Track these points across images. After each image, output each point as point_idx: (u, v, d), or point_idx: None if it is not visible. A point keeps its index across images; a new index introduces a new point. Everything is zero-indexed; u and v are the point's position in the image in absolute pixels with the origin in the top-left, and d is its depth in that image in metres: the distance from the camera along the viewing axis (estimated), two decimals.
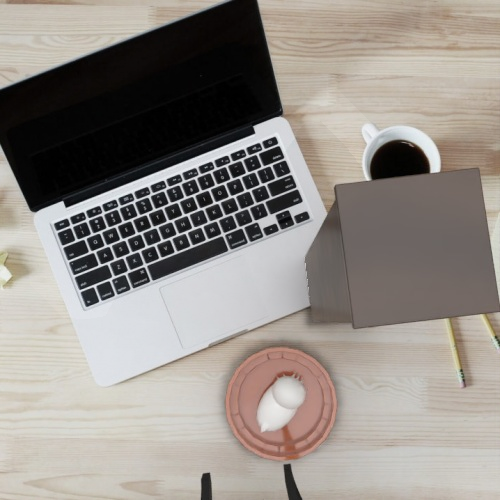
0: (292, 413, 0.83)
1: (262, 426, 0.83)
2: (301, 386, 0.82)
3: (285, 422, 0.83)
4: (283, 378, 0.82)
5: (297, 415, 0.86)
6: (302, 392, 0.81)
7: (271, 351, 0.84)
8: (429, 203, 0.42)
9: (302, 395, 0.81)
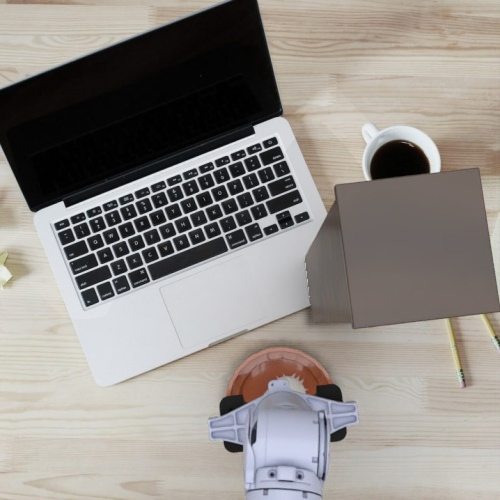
0: None
1: None
2: (301, 386, 0.82)
3: None
4: (283, 378, 0.82)
5: None
6: (302, 392, 0.81)
7: (271, 351, 0.84)
8: (429, 203, 0.42)
9: None
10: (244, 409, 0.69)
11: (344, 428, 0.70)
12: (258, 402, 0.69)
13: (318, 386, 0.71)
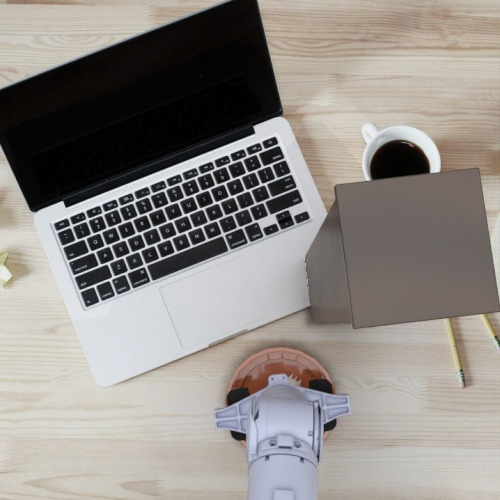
0: None
1: None
2: None
3: None
4: None
5: None
6: None
7: (271, 351, 0.84)
8: (429, 203, 0.42)
9: None
10: (246, 401, 0.76)
11: (334, 419, 0.77)
12: (259, 395, 0.76)
13: (310, 381, 0.78)
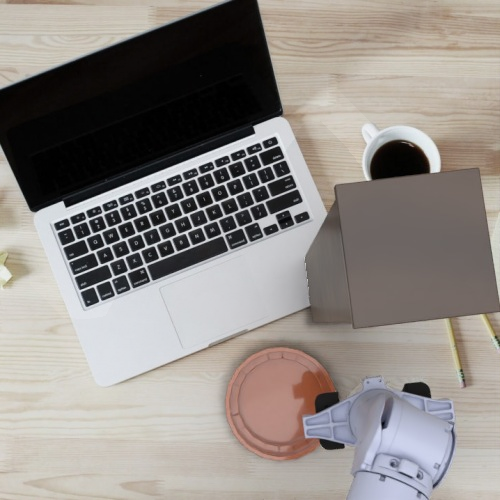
0: None
1: None
2: None
3: None
4: None
5: (297, 415, 0.86)
6: None
7: (271, 351, 0.84)
8: (429, 203, 0.42)
9: None
10: (339, 407, 0.69)
11: None
12: (353, 399, 0.69)
13: (406, 384, 0.71)
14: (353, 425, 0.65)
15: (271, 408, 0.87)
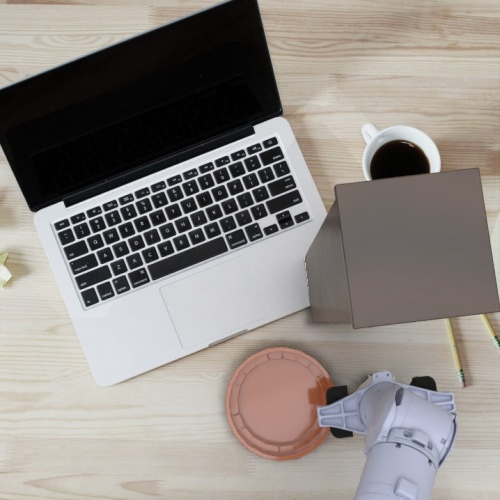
0: None
1: None
2: None
3: None
4: None
5: (297, 415, 0.86)
6: None
7: (271, 351, 0.84)
8: (429, 203, 0.42)
9: None
10: (350, 398, 0.76)
11: None
12: (363, 392, 0.76)
13: (414, 378, 0.78)
14: (363, 415, 0.72)
15: (271, 408, 0.87)
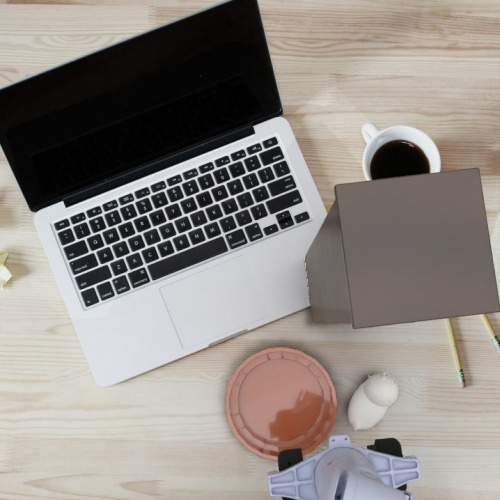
0: (384, 411, 0.84)
1: (355, 424, 0.83)
2: (395, 383, 0.82)
3: (378, 420, 0.84)
4: (376, 376, 0.82)
5: (297, 415, 0.86)
6: (396, 389, 0.82)
7: (271, 351, 0.84)
8: (429, 203, 0.42)
9: (396, 393, 0.82)
10: (304, 464, 0.69)
11: None
12: (319, 458, 0.68)
13: (377, 440, 0.71)
14: (316, 487, 0.65)
15: (271, 408, 0.87)
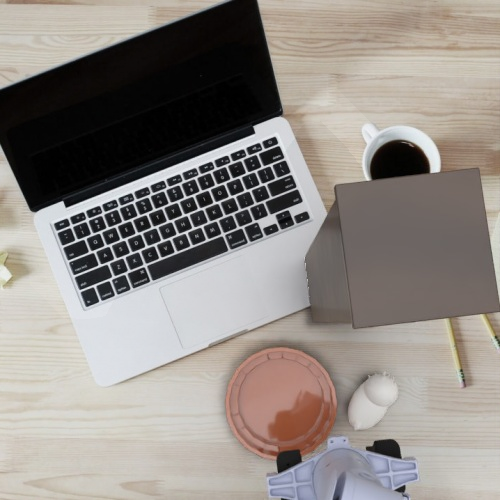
0: (384, 411, 0.84)
1: (355, 424, 0.83)
2: (395, 383, 0.82)
3: (378, 420, 0.84)
4: (376, 376, 0.82)
5: (297, 415, 0.86)
6: (396, 389, 0.82)
7: (271, 351, 0.84)
8: (429, 203, 0.42)
9: (396, 392, 0.82)
10: (303, 466, 0.69)
11: (403, 484, 0.70)
12: (317, 459, 0.68)
13: (376, 441, 0.71)
14: (315, 488, 0.65)
15: (271, 408, 0.87)
